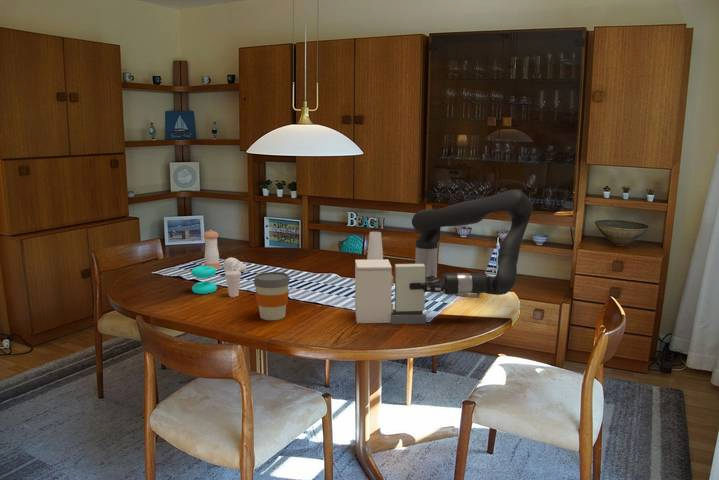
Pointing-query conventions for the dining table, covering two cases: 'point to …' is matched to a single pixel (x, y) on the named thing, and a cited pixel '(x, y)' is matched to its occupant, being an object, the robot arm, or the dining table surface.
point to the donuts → (204, 286)
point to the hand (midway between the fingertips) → (409, 284)
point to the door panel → (403, 293)
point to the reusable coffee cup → (272, 294)
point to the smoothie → (233, 281)
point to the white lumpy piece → (234, 265)
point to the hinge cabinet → (379, 295)
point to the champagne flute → (375, 246)
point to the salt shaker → (211, 249)
